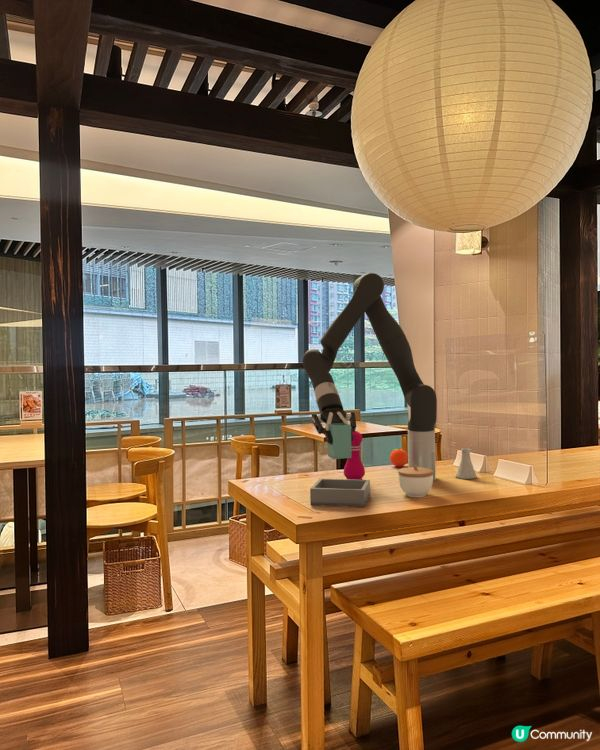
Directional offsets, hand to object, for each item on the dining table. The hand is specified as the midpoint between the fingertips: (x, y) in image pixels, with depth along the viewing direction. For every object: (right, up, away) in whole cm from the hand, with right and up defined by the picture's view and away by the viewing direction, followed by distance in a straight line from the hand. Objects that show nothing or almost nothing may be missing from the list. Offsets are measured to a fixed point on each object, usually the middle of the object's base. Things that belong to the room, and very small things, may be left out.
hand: (341, 442), depth 180 cm
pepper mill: (+6, -17, +22) cm, 29 cm away
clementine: (+26, -16, +53) cm, 61 cm away
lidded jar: (+24, -17, +7) cm, 30 cm away
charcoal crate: (0, -18, +2) cm, 18 cm away
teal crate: (0, -5, +2) cm, 5 cm away
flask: (+46, -16, +30) cm, 57 cm away
